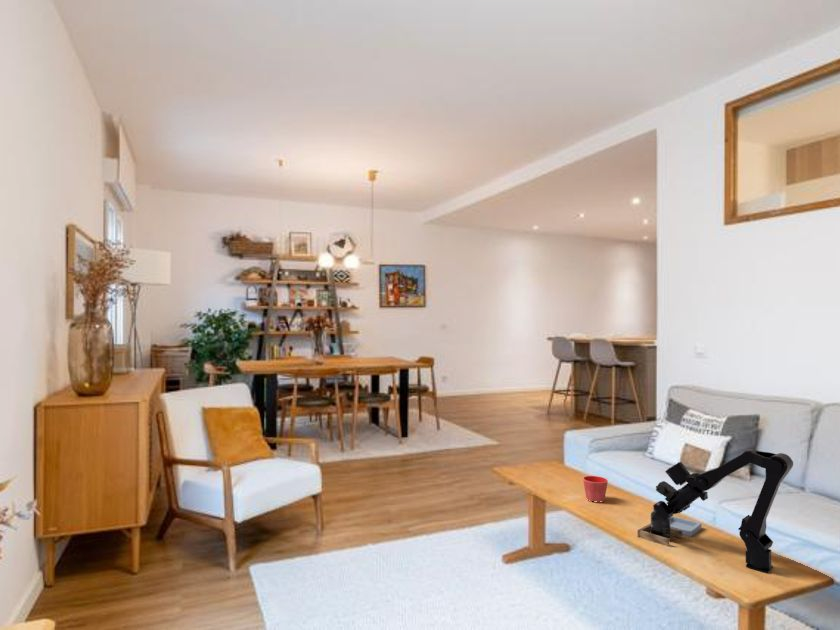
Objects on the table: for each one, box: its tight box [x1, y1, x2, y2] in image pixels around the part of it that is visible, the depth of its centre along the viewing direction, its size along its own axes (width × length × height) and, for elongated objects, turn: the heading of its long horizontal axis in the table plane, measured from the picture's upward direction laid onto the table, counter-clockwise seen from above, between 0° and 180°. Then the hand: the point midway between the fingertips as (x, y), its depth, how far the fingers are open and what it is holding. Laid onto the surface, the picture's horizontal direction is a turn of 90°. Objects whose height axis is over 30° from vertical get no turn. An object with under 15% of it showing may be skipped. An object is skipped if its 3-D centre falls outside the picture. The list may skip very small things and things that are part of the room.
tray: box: [670, 515, 703, 538], centre depth 211 cm, size 12×12×2 cm
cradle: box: [637, 523, 683, 547], centre depth 203 cm, size 12×12×2 cm
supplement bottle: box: [650, 507, 671, 540], centre depth 203 cm, size 7×7×12 cm
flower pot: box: [582, 475, 609, 503], centre depth 246 cm, size 11×11×10 cm
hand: (656, 517), depth 204 cm, fingers closed on supplement bottle, 7 cm apart
